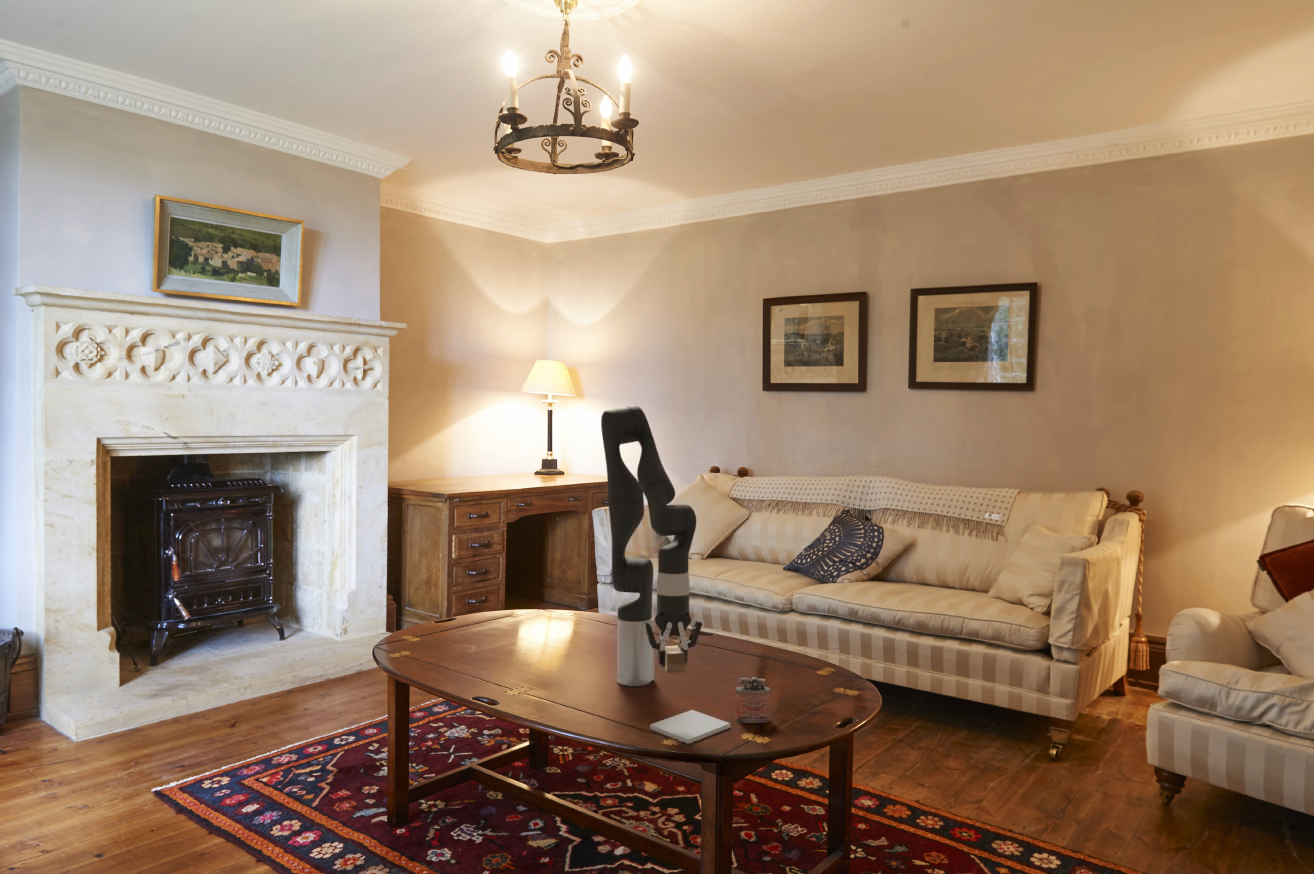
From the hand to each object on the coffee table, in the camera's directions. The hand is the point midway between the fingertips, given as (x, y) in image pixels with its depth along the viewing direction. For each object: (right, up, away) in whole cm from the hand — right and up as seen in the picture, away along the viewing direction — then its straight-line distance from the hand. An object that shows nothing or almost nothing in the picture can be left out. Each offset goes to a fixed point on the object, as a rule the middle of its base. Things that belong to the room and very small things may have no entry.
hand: (672, 665), depth 189 cm
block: (0, -1, 0) cm, 1 cm away
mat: (+4, -14, -1) cm, 15 cm away
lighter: (+19, -14, +4) cm, 24 cm away
